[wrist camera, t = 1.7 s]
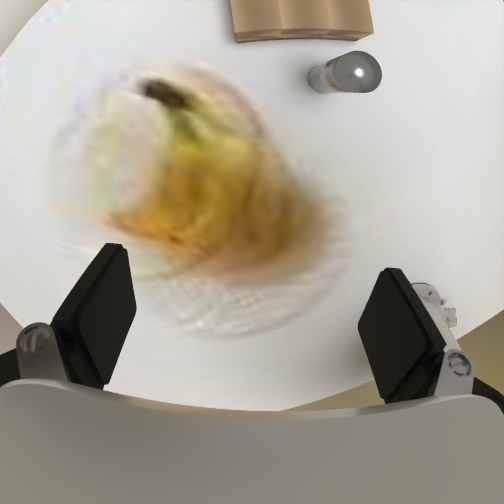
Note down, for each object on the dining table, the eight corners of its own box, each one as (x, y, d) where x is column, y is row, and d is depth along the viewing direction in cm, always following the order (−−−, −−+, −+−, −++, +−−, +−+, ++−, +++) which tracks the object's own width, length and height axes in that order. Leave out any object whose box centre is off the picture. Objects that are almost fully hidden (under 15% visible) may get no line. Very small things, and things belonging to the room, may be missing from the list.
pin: (335, 65, 23) (379, 52, 14) (338, 92, 25) (383, 94, 15) (306, 65, 23) (337, 49, 14) (309, 93, 25) (341, 92, 15)
